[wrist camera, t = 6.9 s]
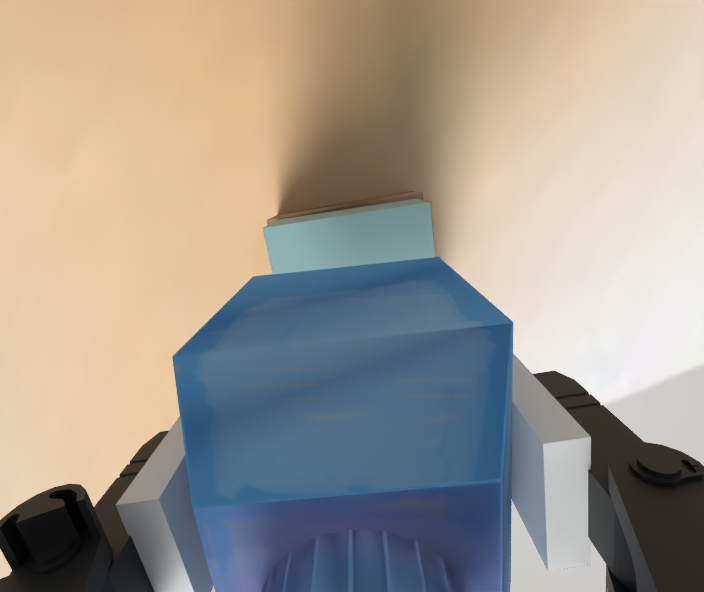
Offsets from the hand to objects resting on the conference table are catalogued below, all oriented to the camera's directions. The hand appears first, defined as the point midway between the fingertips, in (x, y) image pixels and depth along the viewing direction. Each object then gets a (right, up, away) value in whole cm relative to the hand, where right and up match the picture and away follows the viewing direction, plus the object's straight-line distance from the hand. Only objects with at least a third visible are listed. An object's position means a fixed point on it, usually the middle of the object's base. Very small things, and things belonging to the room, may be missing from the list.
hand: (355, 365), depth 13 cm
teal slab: (0, +3, +11) cm, 11 cm away
